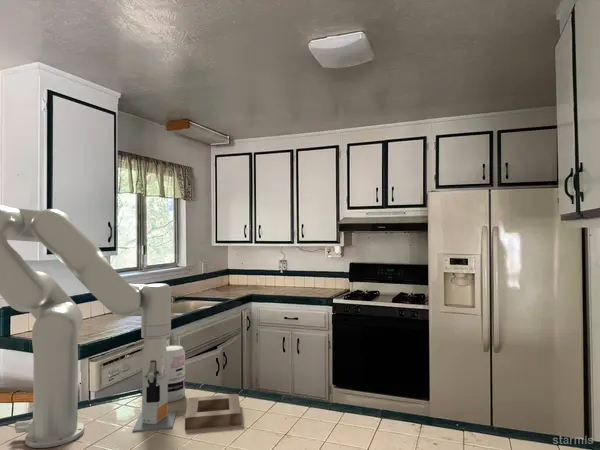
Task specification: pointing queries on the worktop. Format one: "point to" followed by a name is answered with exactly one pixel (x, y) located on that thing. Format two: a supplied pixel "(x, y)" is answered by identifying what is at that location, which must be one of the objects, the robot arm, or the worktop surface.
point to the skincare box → (156, 409)
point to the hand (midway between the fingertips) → (156, 395)
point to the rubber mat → (162, 424)
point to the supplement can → (175, 372)
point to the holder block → (213, 418)
